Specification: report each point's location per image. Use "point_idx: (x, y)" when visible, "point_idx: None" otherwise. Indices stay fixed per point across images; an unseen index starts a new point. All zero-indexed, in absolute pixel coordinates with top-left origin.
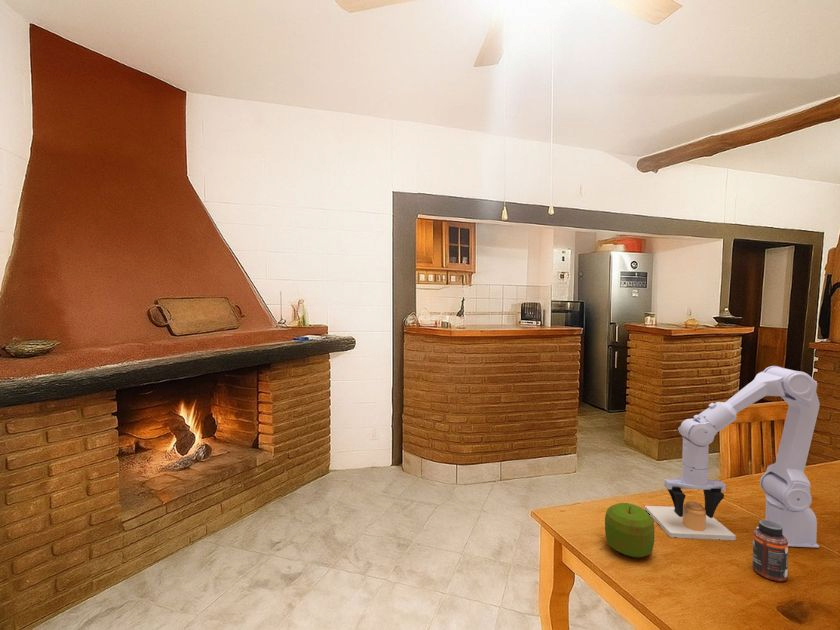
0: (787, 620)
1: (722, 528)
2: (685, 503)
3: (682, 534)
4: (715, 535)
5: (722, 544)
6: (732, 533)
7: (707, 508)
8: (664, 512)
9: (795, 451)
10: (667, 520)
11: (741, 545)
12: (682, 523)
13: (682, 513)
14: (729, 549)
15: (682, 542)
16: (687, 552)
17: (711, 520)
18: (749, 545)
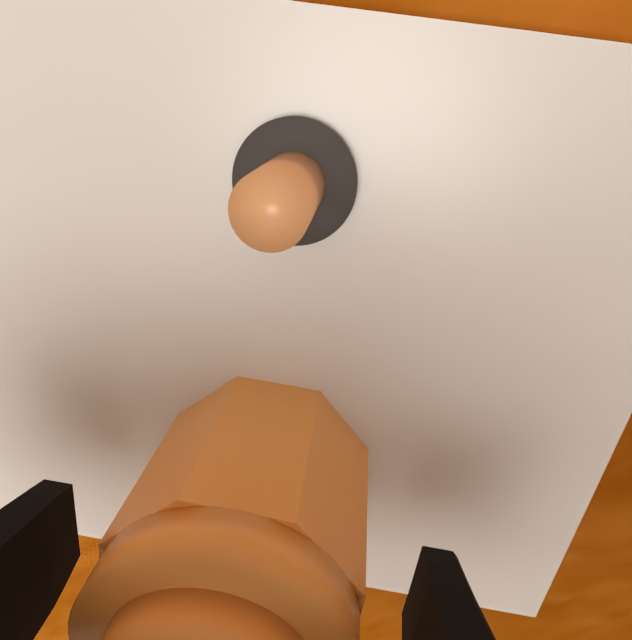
0: None
1: (530, 524)
2: (145, 561)
3: (92, 531)
4: None
5: (366, 596)
6: (543, 590)
7: None
8: (91, 178)
9: None
10: (50, 347)
11: (504, 622)
12: (177, 416)
13: (45, 608)
14: (367, 637)
15: (82, 542)
16: (61, 617)
17: (565, 395)
18: (568, 630)
